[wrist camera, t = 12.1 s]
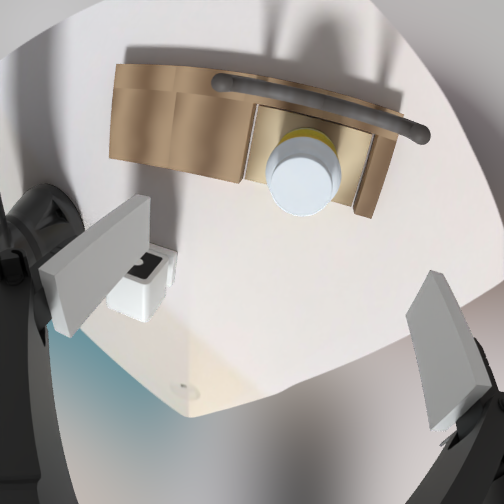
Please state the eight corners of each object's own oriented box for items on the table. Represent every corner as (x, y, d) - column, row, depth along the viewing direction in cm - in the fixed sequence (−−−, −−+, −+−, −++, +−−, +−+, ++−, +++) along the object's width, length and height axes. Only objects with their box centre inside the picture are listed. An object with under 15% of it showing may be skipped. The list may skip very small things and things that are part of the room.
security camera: (181, 243, 42) (147, 285, 33) (177, 283, 45) (147, 328, 37) (140, 230, 42) (101, 267, 34) (139, 270, 46) (104, 310, 37)
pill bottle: (284, 119, 31) (267, 133, 21) (343, 135, 31) (355, 157, 21) (271, 175, 35) (250, 214, 25) (327, 190, 34) (330, 236, 24)
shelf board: (117, 154, 37) (28, 198, 23) (125, 64, 31) (26, 68, 17) (368, 212, 34) (395, 295, 21) (399, 113, 28) (460, 134, 15)
